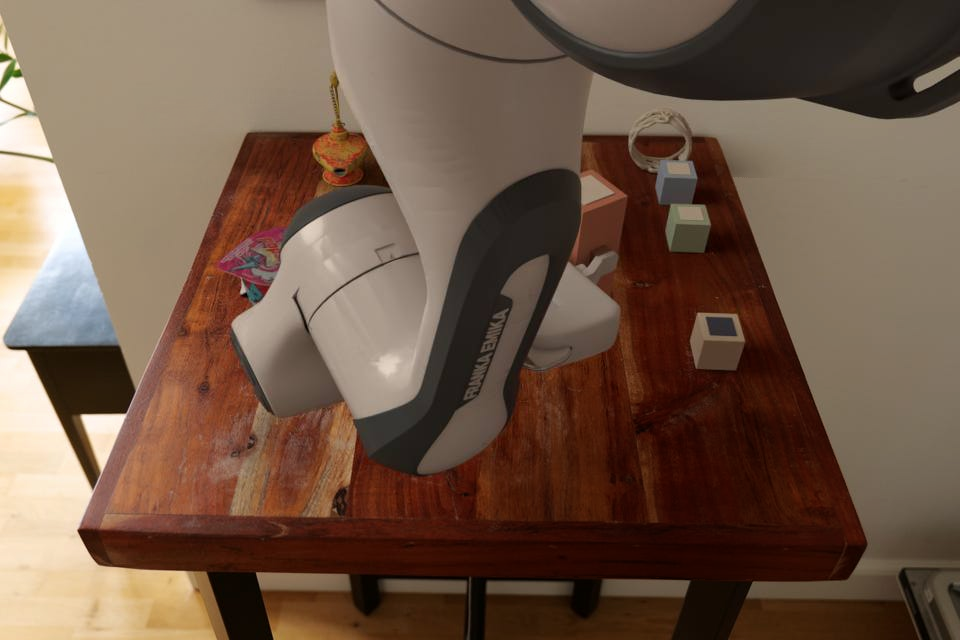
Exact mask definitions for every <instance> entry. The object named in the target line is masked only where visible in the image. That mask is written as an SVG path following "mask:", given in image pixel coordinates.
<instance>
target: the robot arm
mask: <svg viewBox="0 0 960 640" xmlns="http://www.w3.org/2000/svg"><path fill="white" fill-rule="evenodd" d="M325 5H326V6H325V7H326V9H325V10H326V20H327V28H328V29H327V30H328V39H329V45H330V52H331V58H332V62H333V67H334V71H335V72H336V75H337V78H338V81H339V86H340V89H341V91H342V93H343V95H344V97H345V100H346V102H347V104H348V107H349V108H350V111H351V112H352V114H353V117H354V118H355V121H356V123H357V125H358V127H359V129H360V131H361V133H362V135H363V136H364V137H363V138H364V140H365V141H366V143H367V145H368V147H369V148H370V150H371V152H372V154H373V156H374V159H375V160H376V162H377V164H378V166H379V168H380V170H381V172H382V173H383V176H384V178H385V180H386V183H388V185H389V187H386V186H380V185H373V184H353V185H349V186H343V187H340V188H337V189H334V190H331V191H328V192H326V193H324V194H322V195H319V196H317V197H315V198H313V199H311V200H309V201H308V202H306V203H305V204H303V205H301V206H300V207H299V209H297V210H296V211H295V213H294V215H293V216H292V218H291V220H290V222H289V224H288V226H287V227H288V228H287V230H286V232H285V234H284V237H283V240H282V243H281V247H280V251H279V261H280V268H279V270H278V272H277V274H276V276H275V279H274V281H273V283H272V284H271V286H270V288H269V290H268V291H267V293H266V294H265V296H264V297H263V299H262V300H261V301H260V302H258V303H257V304H256V305H254V306H253V307H252V306H251V307H250V308H248V309H246V310H245V311H243V312H241V313H240V314H239V315H237V316H236V317H235V318H234V319H233V320H232V322H231V324H230V335H229V336H230V341H231V346H232V348H233V350H234V352H235V354H236V356H237V358H238V360H239V362H240V365H241V366H242V369H243V371H244V373H245V375H246V377H247V378H248V381H249V383H250V384H251V386H252V389H253V391H254V393H255V395H256V397H257V399H258V401H259V403H260V404H261V406H262V407H263V408H264V410H266V412H267V413H269V414H271V415H272V416H274V417H275V418H277V419H286V418H291V417H296V416H300V415H304V414H308V413H312V412H316V411H319V410H322V409H326V408H329V407H332V406H335V405H337V404H340V403H344V402H345V404H346V407H347V408H348V410H349V412H350V414H351V416H352V418H353V419H352V422H353V423H352V424H353V425H354V427H355V430H356V432H357V435H358V437H359V440H360V441H361V444H362V446H363V449H364V451H365V453H366V456H367V458H368V459H369V460H370V461H373V462H375V463H376V464H379V465H381V466H383V467H386V468H387V469H390V470H393V471H396V472H399V473H402V474H405V475H409V476H413V477H418V478H423V477H424V478H425V477H428V476H432V475H436V474H439V473H441V472H445V471H448V470H450V469H454V468H455V467H458V466H459V465H462V464H464V463H465V462H467V461H469V460H471V459H472V458H474V457H475V456H477V455H479V454H480V453H481V452H482V451H484V450H485V449H486V448H488V447H489V445H490V444H492V443H493V441H495V440H496V438H497V437H498V436H499V435H500V434H501V433H502V432H503V431H504V430H505V429H506V427H507V426H508V425H509V423H510V421H511V419H512V417H513V414H514V411H515V408H516V404H517V401H518V397H519V392H520V386H521V378H520V375H521V372H522V369H525V370H528V371H532V372H535V373H538V374H542V373H546V372H549V371H551V370H553V369H555V368H558V367H563V366H566V365H569V364H574V363H576V362H579V361H583V360H585V359H589V358H591V357H593V356H597V355H599V354H601V353H603V352H606V351H608V350H609V349H611V348H612V347H613V346H614V345H615V342H616V339H617V336H618V333H619V330H620V323H621V314H622V313H621V312H622V310H621V306H620V305H619V304H618V303H617V302H616V301H615V300H614V299H613V298H612V297H611V296H610V297H609V296H608V295H607V294H606V293H605V292H603V291H602V290H601V289H600V288H599V287H598V286H597V285H596V284H597V282H598V281H599V279H600V277H601V276H603V275H605V274H608V273H610V272H612V271H613V270H615V271H616V268H617V267H618V262H619V253H618V254H617V253H615V252H614V251H613V250H612V249H610V248H609V247H608V246H606V245H603V246H601V247H600V248H596V249H593V250H591V253H590V261H589V266H588V268H586V266H585V265H584V264H580V265H578V266H574V265H572V264H571V263H570V262H569V258H570V256H571V253H572V250H573V248H574V245H575V242H576V239H577V236H578V232H579V228H580V223H581V195H582V186H581V180H580V173H581V165H582V150H583V149H582V148H583V137H584V127H585V119H586V115H587V114H586V113H587V107H588V102H589V96H590V92H591V87H592V83H593V80H594V79H593V78H594V74H597V75H598V76H601V77H603V78H605V79H608V80H610V81H613V82H615V83H619V84H620V85H623V86H625V87H629V88H632V89H635V90H639V91H641V92H646V93H650V94H654V95H659V96H665V97H671V98H677V99H682V100H683V99H684V100H691V101H711V102H713V101H714V102H733V101H734V102H736V101H738V102H741V101H742V102H743V101H768V100H769V101H770V100H784V99H797V100H801V101H804V102H809V103H814V104H816V105H821V106H825V107H828V108H832V109H836V110H840V111H844V112H847V113H851V114H855V115H859V116H863V117H867V118H871V119H876V120H877V119H878V120H887V121H888V120H901V119H903V120H904V119H916V118H917V119H918V118H923V117H928V116H931V115H933V114H936V113H938V112H940V111H942V110H945V109H947V108H950V107H952V106H954V105H957V104H958V103H959V102H960V68H958V69H957V70H955V71H953V72H952V73H950V74H949V75H947V76H945V77H943V78H942V79H940V80H939V81H937V82H936V83H934V84H933V85H931V86H929V87H926V88H924V89H922V90H919V91H916V89H915V87H914V83H915V82H916V80H917V79H918V78H920V77H923V76H924V75H926V74H930V73H931V72H933V71H935V70H938V69H940V68H942V67H944V66H946V65H947V64H949V63H950V62H952V61H954V60H956V59H958V58H960V0H325Z"/></svg>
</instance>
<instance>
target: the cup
mask: <svg viewBox="0 0 960 640" xmlns="http://www.w3.org/2000/svg"><path fill="white" fill-rule="evenodd" d="M287 228H288V226H279V227H271V228H267V229H262V230H260V231H257V232H255V233H252V234H251V235H249V236H247V237H246V238H244V239H243V240H242V241H240V242H239V243H238V244H237V245H235V246H234V247H232V249H231V250H229V251H228V252H227V253H226V254H224V255H223V256H222V257H221V258H220V259H219V260H218V261H217V262H216V265H215V267H216V269H217V270H219V271H222V272H225V273H227V274H230V275H232V276H235V277H238V278H240V280H241V279H242V281H241V283H242V282H243V284H244V287H245V289H246V294H247V295H246V296H247V297H248V300H249V302H250V305H251V307H253V306H254V305H256V304H257V303H258V302H260V301H261V300H262V299H263V297H264V296H265V294H266V293H267V291H268V290H269V288H270V286H271V284H272V283H273V281H274V279H275V276H276V274H277V272H278V270H279V268H280V261H279V251H280V247H281V243H282V240H283V237H284V234H285V232H286V230H287Z"/></svg>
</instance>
